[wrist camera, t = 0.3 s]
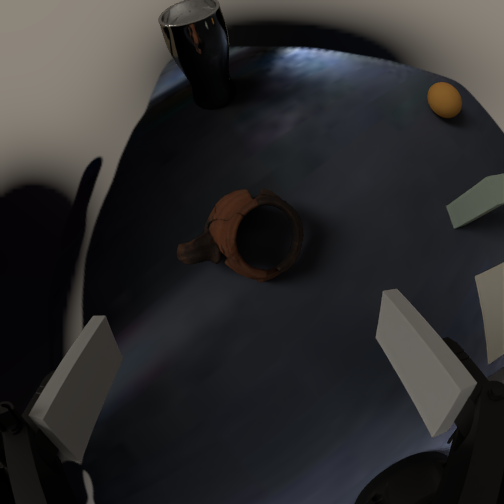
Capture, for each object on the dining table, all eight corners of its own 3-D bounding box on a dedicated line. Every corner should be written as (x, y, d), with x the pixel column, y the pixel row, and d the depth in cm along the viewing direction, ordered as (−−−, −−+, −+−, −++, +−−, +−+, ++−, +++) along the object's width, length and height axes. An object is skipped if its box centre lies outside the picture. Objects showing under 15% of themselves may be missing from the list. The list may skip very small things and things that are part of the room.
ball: (458, 124, 31) (474, 104, 26) (433, 125, 32) (449, 103, 26) (441, 96, 33) (454, 75, 27) (416, 97, 33) (428, 74, 28)
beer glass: (206, 120, 35) (173, 34, 20) (182, 94, 36) (146, 17, 21) (249, 94, 35) (234, 6, 20) (221, 71, 36) (200, -9, 22)
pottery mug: (259, 180, 33) (292, 170, 25) (286, 254, 35) (324, 265, 27) (161, 220, 30) (164, 222, 22) (195, 298, 32) (210, 324, 24)
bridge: (514, 209, 28) (551, 187, 19) (453, 228, 29) (497, 204, 20) (507, 190, 29) (543, 166, 20) (446, 206, 29) (486, 176, 20)
